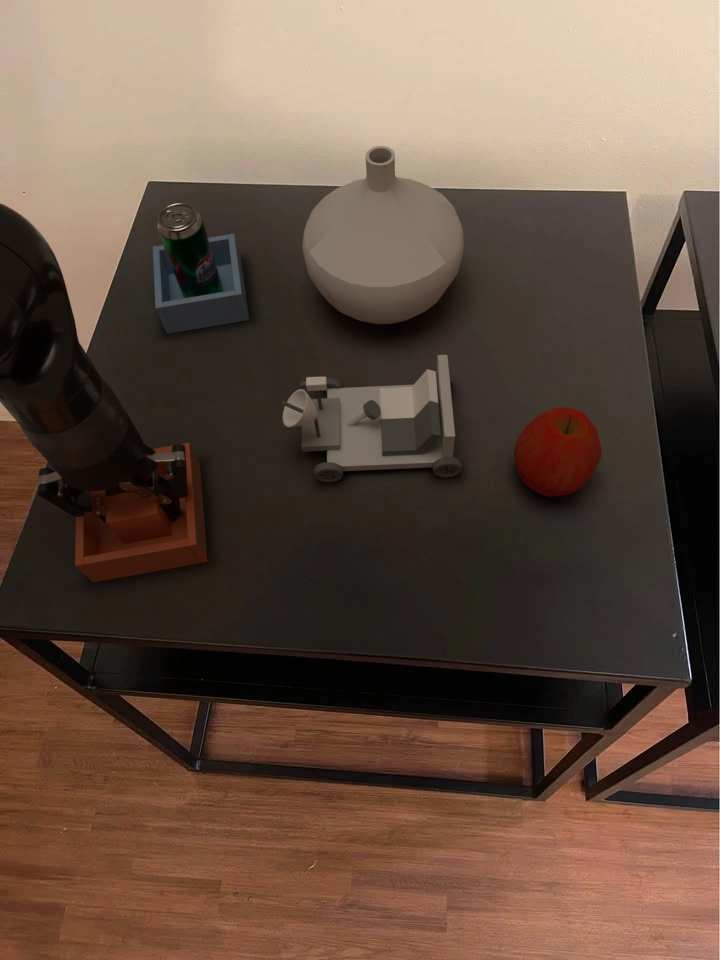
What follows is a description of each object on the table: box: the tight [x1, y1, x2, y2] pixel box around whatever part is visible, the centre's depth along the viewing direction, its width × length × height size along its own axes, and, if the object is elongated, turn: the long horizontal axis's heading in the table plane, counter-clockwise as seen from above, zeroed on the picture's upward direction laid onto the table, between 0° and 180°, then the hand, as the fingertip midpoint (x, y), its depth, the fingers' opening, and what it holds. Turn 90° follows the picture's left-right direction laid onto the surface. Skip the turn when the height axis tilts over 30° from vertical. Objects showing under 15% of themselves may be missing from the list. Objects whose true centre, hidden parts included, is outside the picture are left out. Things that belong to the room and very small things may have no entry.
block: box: [106, 492, 172, 543], centre depth 72 cm, size 5×5×5 cm
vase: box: [301, 145, 465, 325], centre depth 80 cm, size 18×18×19 cm
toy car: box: [281, 354, 463, 483], centre depth 74 cm, size 18×10×12 cm
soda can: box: [156, 202, 223, 298], centre depth 84 cm, size 5×5×12 cm
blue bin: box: [152, 233, 250, 335], centre depth 88 cm, size 10×10×5 cm
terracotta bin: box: [74, 442, 208, 583], centre depth 73 cm, size 12×12×5 cm
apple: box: [513, 406, 602, 498], centre depth 70 cm, size 8×8×11 cm
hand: (145, 515), depth 74 cm, fingers closed on block, 5 cm apart
